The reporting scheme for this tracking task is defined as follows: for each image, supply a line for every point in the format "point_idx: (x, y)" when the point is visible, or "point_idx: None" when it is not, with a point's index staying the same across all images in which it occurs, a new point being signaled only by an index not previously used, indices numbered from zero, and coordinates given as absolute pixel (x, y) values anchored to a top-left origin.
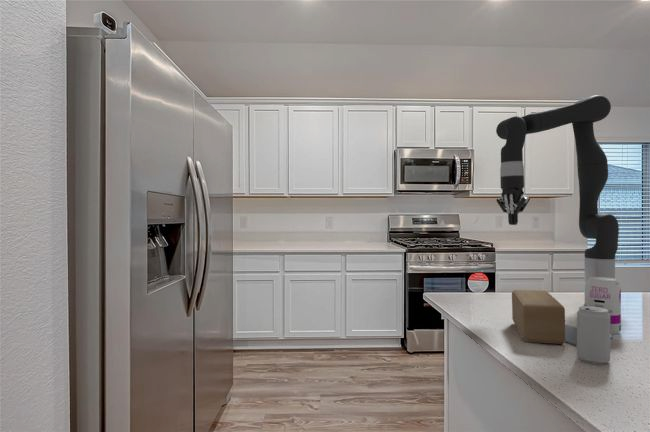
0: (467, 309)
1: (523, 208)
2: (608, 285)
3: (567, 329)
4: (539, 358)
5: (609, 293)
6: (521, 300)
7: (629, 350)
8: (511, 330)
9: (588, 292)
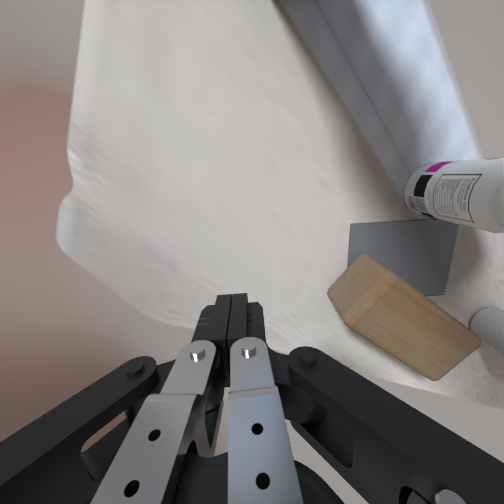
0: None
1: (355, 384)
2: None
3: (395, 244)
4: None
5: None
6: (414, 366)
7: (494, 245)
8: None
9: (470, 226)
